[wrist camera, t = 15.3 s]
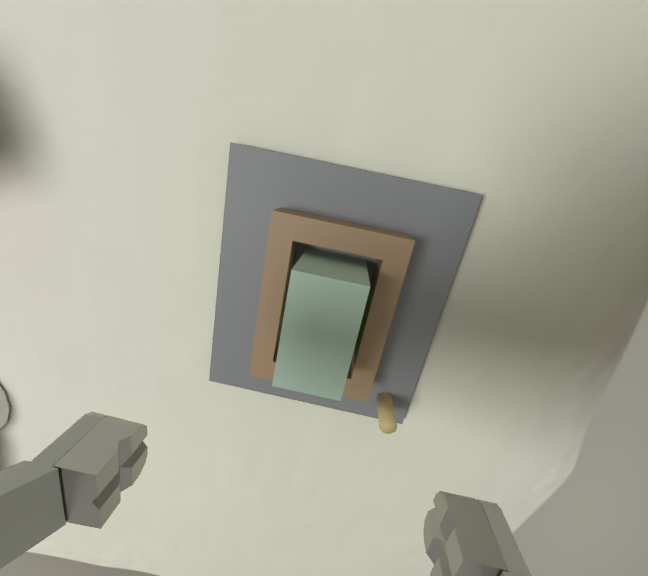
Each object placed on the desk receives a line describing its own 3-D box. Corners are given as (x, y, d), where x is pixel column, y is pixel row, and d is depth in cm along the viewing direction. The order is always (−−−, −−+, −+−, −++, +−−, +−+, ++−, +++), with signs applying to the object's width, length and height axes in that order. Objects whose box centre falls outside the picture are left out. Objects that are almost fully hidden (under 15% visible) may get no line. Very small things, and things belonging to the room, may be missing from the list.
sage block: (291, 337, 23) (272, 385, 18) (307, 246, 21) (291, 269, 15) (343, 348, 23) (340, 401, 18) (365, 259, 21) (370, 286, 15)
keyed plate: (234, 144, 20) (209, 135, 16) (477, 194, 20) (505, 196, 16) (213, 374, 26) (191, 405, 22) (400, 416, 26) (408, 454, 22)
